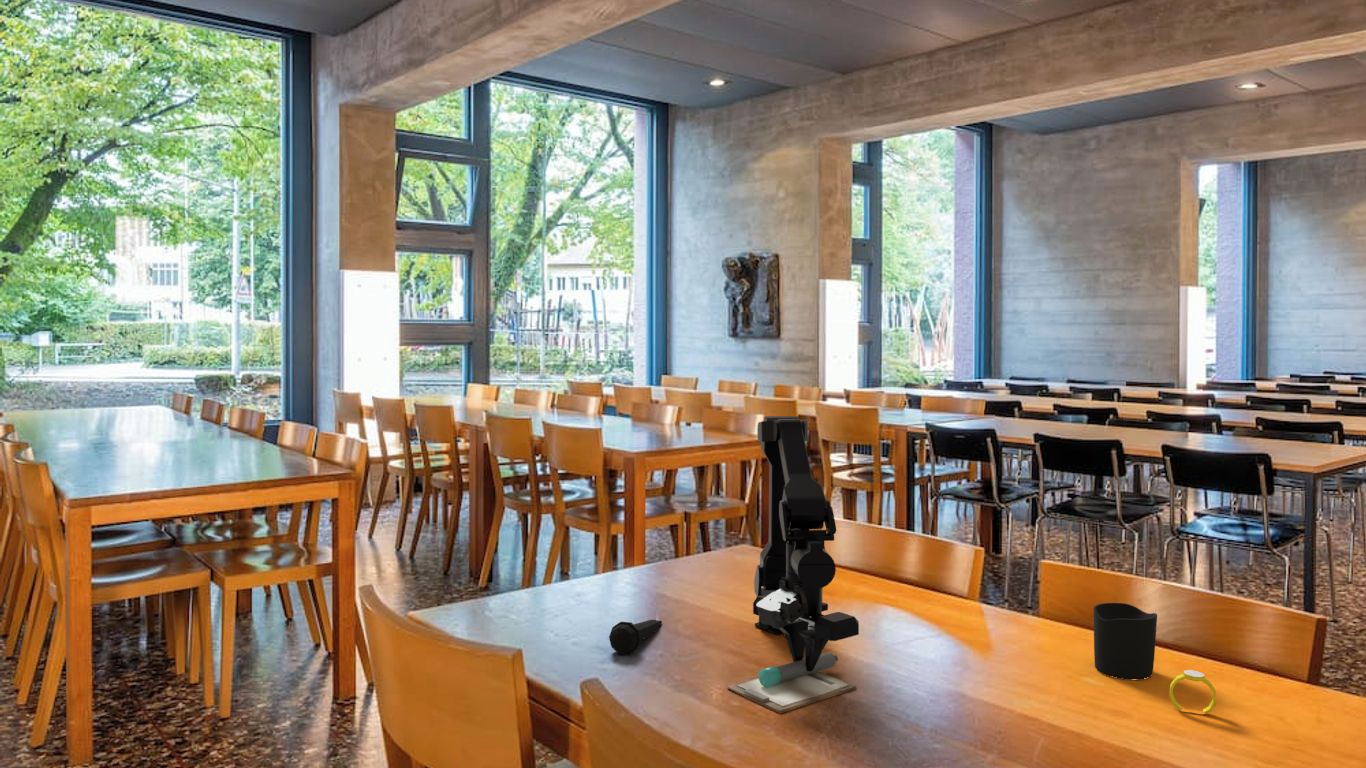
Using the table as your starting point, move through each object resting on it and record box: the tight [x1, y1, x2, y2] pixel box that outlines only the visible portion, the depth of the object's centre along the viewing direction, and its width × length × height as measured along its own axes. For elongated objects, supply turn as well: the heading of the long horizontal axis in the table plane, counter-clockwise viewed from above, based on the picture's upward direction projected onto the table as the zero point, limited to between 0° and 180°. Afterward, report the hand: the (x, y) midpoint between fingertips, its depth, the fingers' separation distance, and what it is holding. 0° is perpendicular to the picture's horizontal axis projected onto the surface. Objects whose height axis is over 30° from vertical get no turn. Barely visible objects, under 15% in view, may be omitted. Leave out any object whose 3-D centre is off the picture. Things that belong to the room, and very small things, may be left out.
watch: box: [1169, 669, 1217, 714], centre depth 145 cm, size 6×3×6 cm, turn 64°
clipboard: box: [726, 671, 857, 714], centre depth 155 cm, size 16×12×1 cm
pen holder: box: [1093, 602, 1158, 680], centre depth 161 cm, size 9×9×10 cm
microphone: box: [608, 619, 663, 655], centre depth 179 cm, size 6×6×20 cm
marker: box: [757, 652, 839, 687], centre depth 158 cm, size 16×3×3 cm, turn 127°
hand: (803, 668), depth 159 cm, fingers closed on marker, 2 cm apart
